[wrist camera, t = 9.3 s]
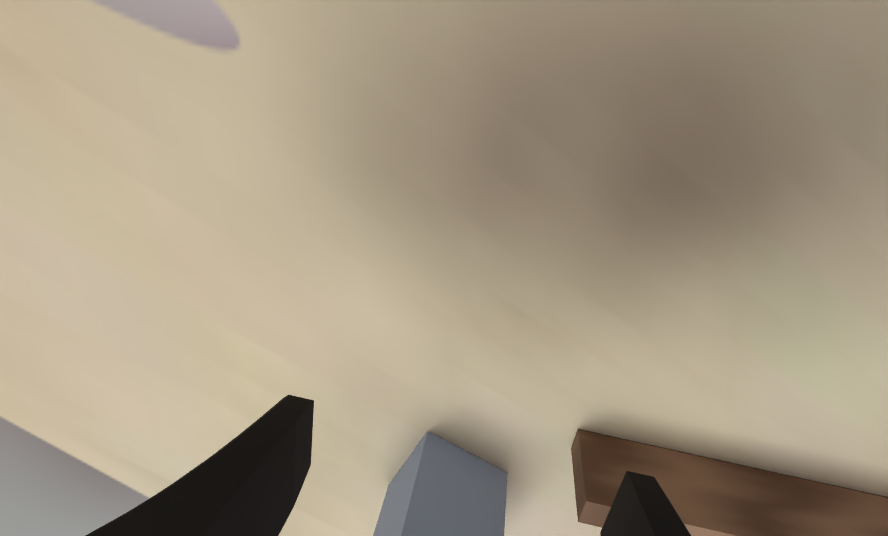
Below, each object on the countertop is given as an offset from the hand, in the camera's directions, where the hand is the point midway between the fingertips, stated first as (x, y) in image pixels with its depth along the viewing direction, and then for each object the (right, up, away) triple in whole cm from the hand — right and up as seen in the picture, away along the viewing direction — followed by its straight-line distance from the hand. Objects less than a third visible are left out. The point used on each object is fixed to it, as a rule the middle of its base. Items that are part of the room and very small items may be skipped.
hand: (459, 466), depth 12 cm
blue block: (0, -6, +15) cm, 16 cm away
